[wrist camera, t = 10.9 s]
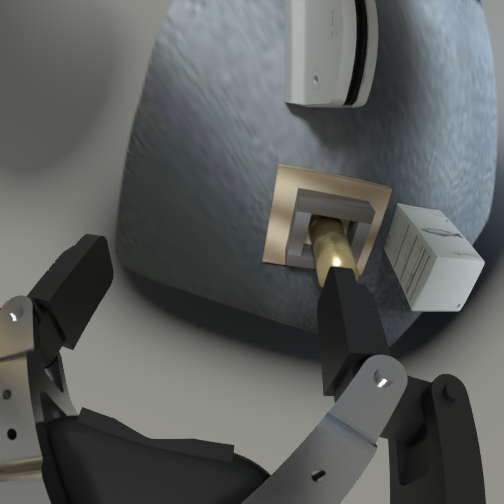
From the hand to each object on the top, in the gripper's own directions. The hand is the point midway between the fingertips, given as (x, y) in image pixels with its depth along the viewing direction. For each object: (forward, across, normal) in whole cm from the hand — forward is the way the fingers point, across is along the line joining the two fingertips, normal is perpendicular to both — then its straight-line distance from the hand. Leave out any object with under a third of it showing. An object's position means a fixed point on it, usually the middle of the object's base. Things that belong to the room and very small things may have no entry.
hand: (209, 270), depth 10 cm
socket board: (+25, -10, +11) cm, 29 cm away
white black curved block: (+26, -6, -12) cm, 29 cm away
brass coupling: (+24, -10, +11) cm, 28 cm away
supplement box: (+25, -22, +10) cm, 35 cm away
